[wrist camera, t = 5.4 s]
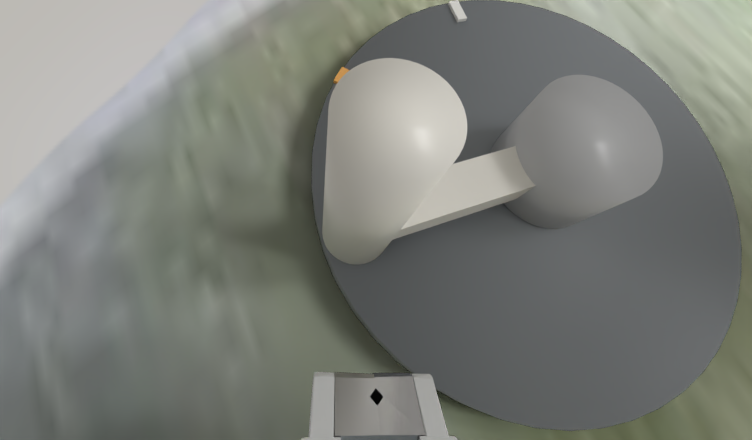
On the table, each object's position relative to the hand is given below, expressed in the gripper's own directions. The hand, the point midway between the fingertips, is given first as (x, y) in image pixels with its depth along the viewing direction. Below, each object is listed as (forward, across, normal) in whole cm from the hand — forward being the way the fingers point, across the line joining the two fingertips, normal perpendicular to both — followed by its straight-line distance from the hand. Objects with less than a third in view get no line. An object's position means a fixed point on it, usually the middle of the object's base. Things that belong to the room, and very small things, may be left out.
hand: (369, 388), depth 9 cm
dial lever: (+10, -6, -2) cm, 11 cm away
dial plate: (+12, -10, -2) cm, 16 cm away
